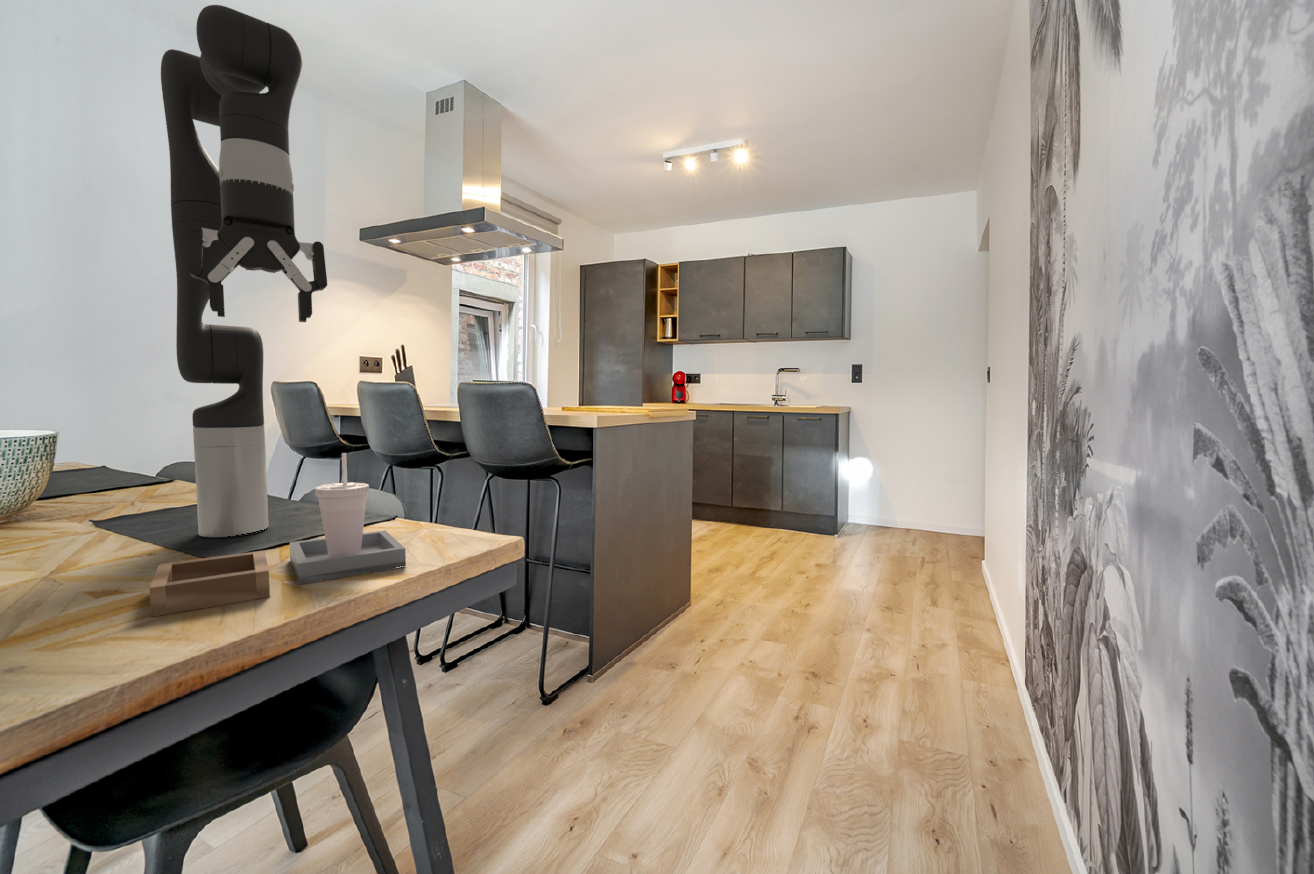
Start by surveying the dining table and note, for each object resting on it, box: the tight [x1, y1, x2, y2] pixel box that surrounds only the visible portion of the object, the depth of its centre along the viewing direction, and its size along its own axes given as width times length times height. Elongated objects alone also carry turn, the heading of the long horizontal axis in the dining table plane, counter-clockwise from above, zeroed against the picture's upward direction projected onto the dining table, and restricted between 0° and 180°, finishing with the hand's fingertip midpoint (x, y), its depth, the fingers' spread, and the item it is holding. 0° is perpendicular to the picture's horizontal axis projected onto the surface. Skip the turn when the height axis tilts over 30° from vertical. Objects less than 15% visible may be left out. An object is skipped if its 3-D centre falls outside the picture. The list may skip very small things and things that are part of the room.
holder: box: [149, 550, 271, 618], centre depth 65 cm, size 10×10×3 cm
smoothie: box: [314, 452, 370, 557], centre depth 76 cm, size 6×6×14 cm
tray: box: [289, 530, 407, 585], centre depth 76 cm, size 12×12×2 cm
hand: (263, 319), depth 73 cm, fingers open, 8 cm apart
